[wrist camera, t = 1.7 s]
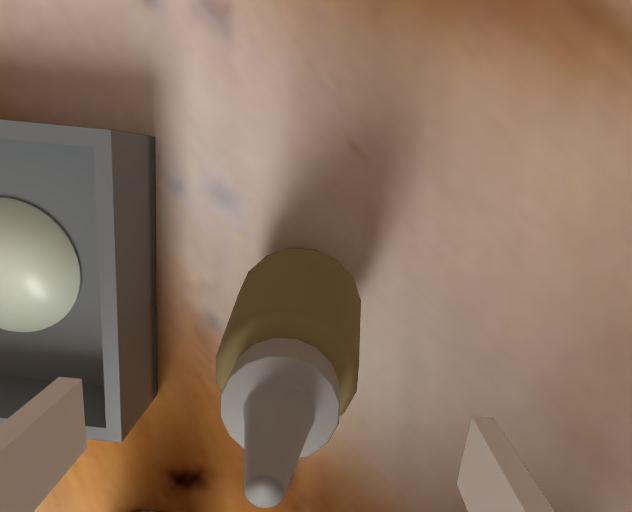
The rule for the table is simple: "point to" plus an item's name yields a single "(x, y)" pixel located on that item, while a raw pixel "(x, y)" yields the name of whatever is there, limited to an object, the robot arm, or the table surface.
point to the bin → (78, 270)
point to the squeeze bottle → (288, 365)
